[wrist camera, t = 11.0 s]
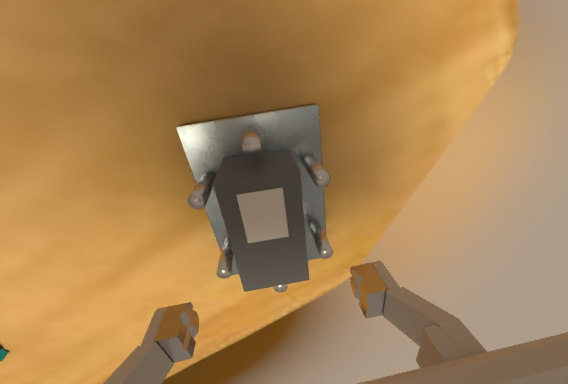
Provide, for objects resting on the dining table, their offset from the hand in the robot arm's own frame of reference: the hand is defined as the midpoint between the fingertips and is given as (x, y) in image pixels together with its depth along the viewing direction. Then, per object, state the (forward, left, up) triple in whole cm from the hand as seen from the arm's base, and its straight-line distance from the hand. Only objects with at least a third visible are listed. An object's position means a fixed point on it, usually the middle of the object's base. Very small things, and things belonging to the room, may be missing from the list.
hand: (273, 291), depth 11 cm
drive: (+1, 0, -10) cm, 10 cm away
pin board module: (+1, 0, -11) cm, 11 cm away
